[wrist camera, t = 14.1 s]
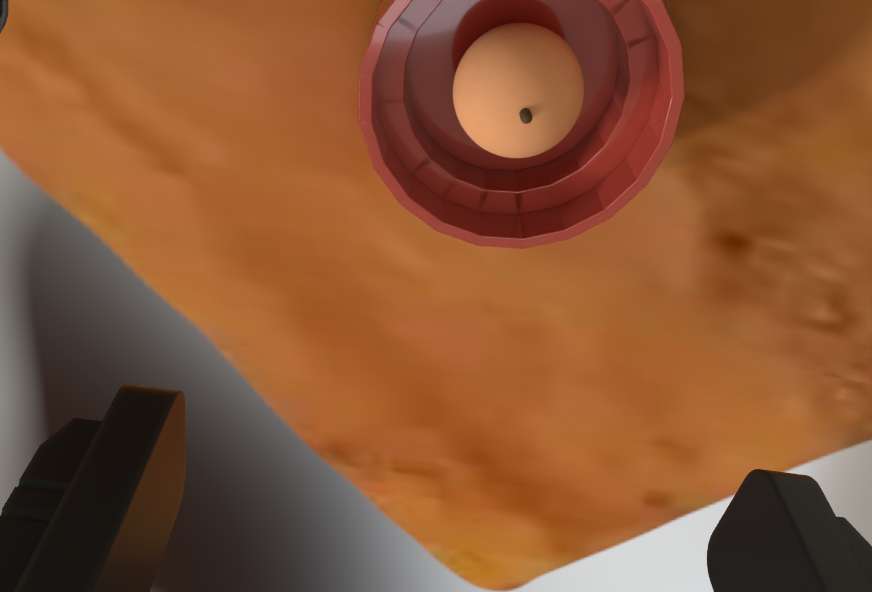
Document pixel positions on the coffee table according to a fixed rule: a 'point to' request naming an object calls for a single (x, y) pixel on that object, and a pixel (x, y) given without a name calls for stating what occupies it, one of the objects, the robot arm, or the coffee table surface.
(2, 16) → the sundae
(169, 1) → the coffee table surface
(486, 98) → the peach
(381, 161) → the bowl
